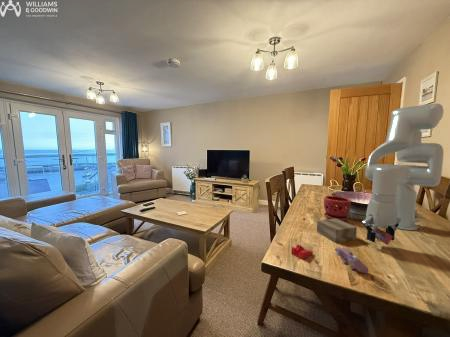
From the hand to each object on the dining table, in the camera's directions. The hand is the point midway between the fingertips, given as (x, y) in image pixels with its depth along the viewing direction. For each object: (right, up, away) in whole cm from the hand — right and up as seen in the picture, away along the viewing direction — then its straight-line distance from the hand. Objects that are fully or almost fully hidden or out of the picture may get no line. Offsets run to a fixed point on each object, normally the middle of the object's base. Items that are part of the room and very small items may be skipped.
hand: (380, 239), depth 77 cm
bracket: (-34, -4, -5) cm, 34 cm away
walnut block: (-12, -2, +10) cm, 16 cm away
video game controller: (-20, -5, -12) cm, 24 cm away
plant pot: (+1, 0, +32) cm, 32 cm away
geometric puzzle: (0, -1, 0) cm, 1 cm away
